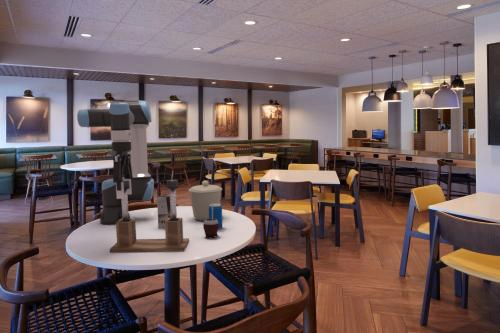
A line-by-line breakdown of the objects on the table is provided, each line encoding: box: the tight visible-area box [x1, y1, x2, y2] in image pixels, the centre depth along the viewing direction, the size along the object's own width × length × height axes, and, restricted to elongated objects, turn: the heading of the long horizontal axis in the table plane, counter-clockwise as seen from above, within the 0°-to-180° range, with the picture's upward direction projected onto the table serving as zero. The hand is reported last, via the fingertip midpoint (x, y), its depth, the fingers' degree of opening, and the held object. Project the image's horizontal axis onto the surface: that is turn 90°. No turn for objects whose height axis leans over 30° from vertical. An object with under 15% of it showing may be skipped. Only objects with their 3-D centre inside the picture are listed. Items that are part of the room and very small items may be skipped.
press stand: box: [109, 217, 190, 254], centre depth 146 cm, size 12×30×12 cm, turn 90°
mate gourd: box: [202, 202, 219, 239], centre depth 159 cm, size 8×8×15 cm
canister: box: [188, 180, 223, 222], centre depth 191 cm, size 18×18×21 cm
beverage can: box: [209, 203, 223, 231], centre depth 171 cm, size 6×6×12 cm
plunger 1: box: [121, 181, 130, 222], centre depth 145 cm, size 4×4×18 cm
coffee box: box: [156, 193, 171, 230], centre depth 177 cm, size 9×6×16 cm
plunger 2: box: [166, 179, 179, 221], centre depth 145 cm, size 4×4×18 cm
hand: (124, 196), depth 144 cm, fingers open, 8 cm apart
